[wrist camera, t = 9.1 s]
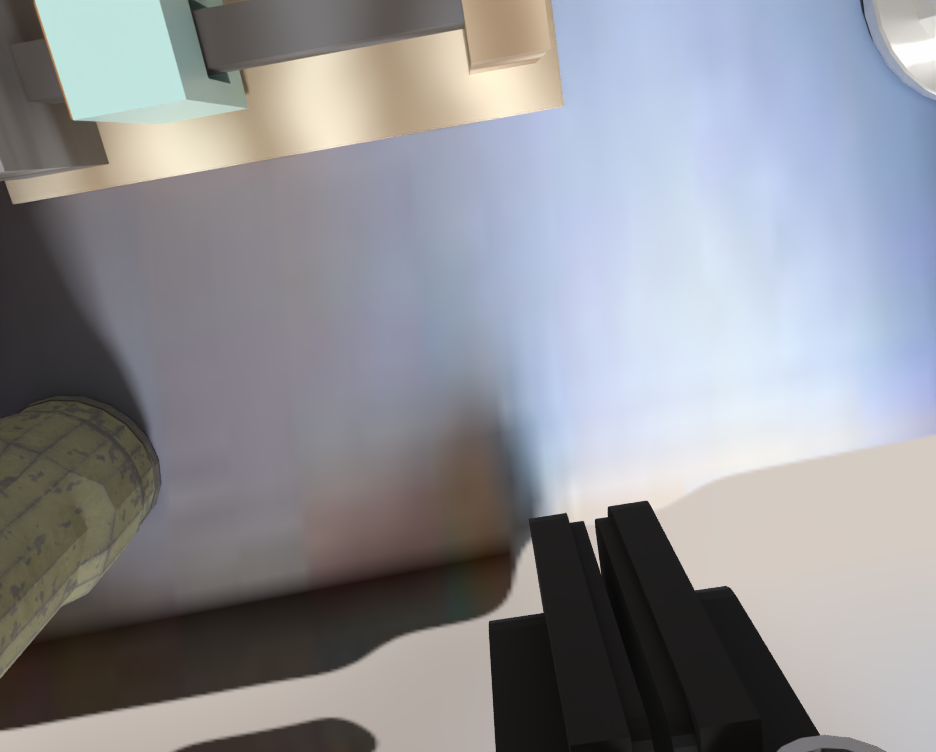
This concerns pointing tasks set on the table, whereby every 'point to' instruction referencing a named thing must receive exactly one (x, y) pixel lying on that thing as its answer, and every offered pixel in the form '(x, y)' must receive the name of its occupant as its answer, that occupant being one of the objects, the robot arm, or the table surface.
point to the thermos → (65, 507)
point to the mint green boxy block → (135, 61)
